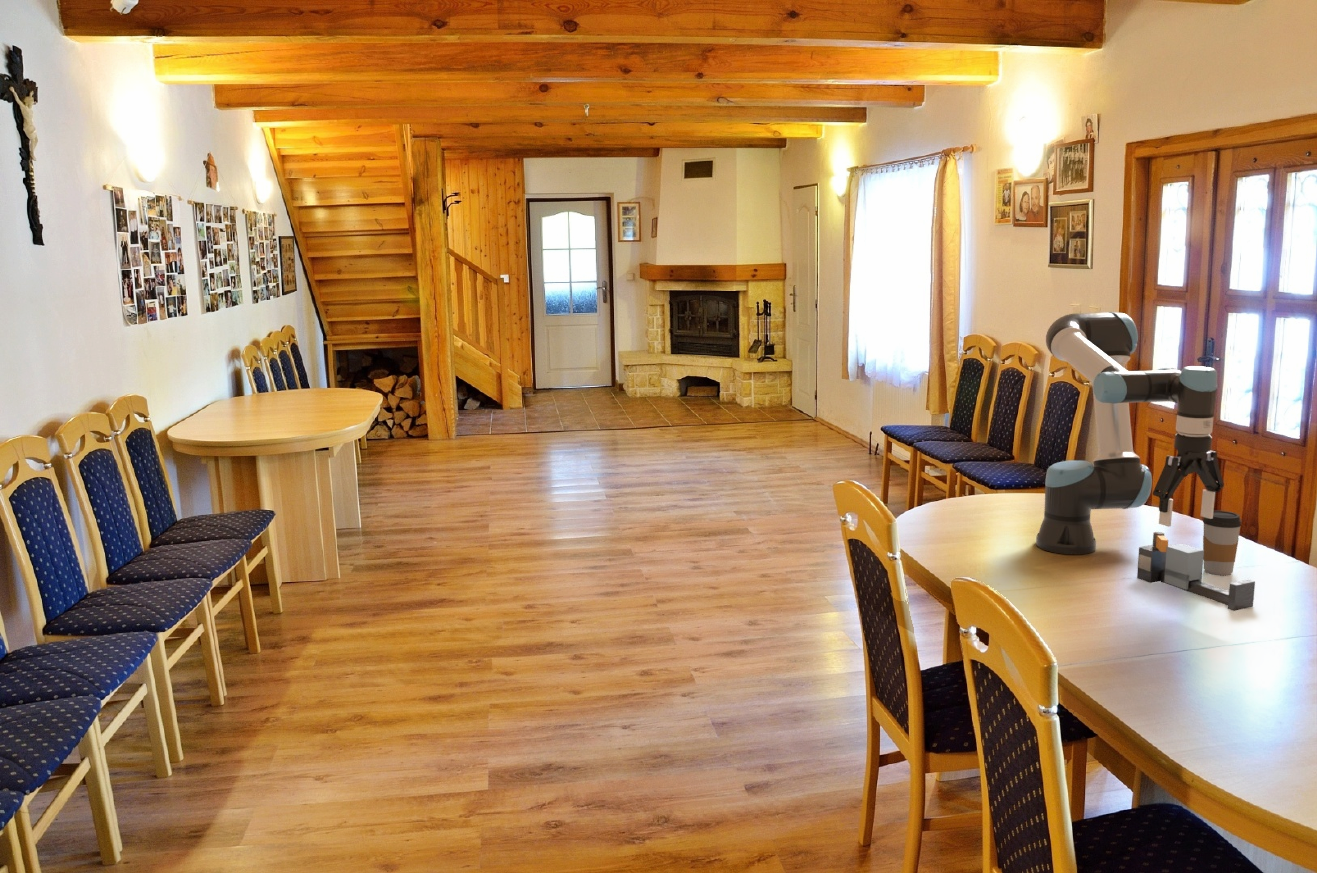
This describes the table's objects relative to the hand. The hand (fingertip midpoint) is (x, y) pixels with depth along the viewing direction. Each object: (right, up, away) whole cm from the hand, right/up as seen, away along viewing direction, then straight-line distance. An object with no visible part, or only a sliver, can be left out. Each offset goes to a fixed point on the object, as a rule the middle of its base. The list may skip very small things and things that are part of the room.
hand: (1185, 521), depth 233 cm
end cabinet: (-2, -15, +9) cm, 18 cm away
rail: (+2, -17, -2) cm, 17 cm away
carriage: (+1, -16, +3) cm, 16 cm away
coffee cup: (+15, -14, +12) cm, 24 cm away
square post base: (+6, -19, -11) cm, 23 cm away
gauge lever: (-3, -7, +6) cm, 10 cm away
